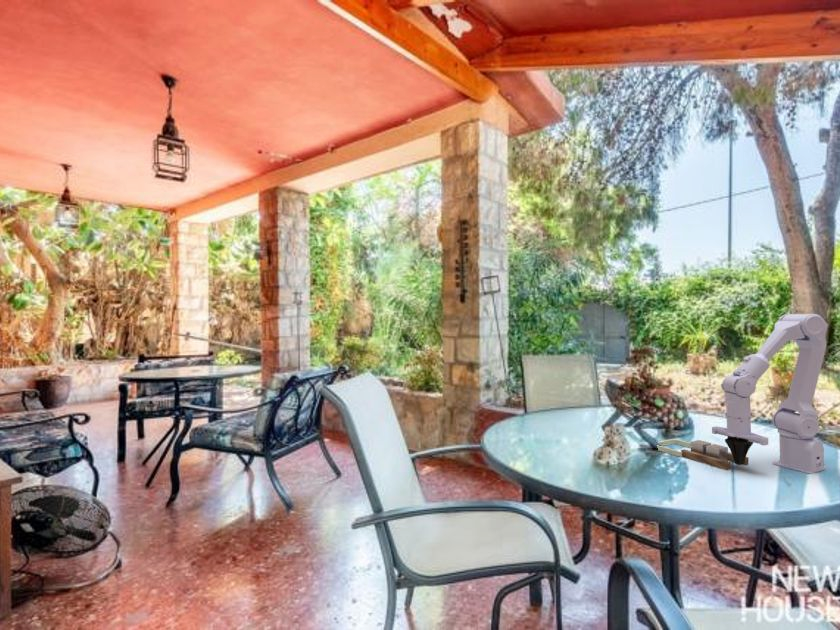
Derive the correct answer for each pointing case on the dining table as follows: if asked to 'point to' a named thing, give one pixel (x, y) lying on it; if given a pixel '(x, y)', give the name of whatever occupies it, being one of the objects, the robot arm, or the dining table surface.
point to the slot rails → (710, 459)
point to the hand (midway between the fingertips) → (739, 463)
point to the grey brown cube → (717, 452)
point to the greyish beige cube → (699, 446)
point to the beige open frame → (671, 451)
